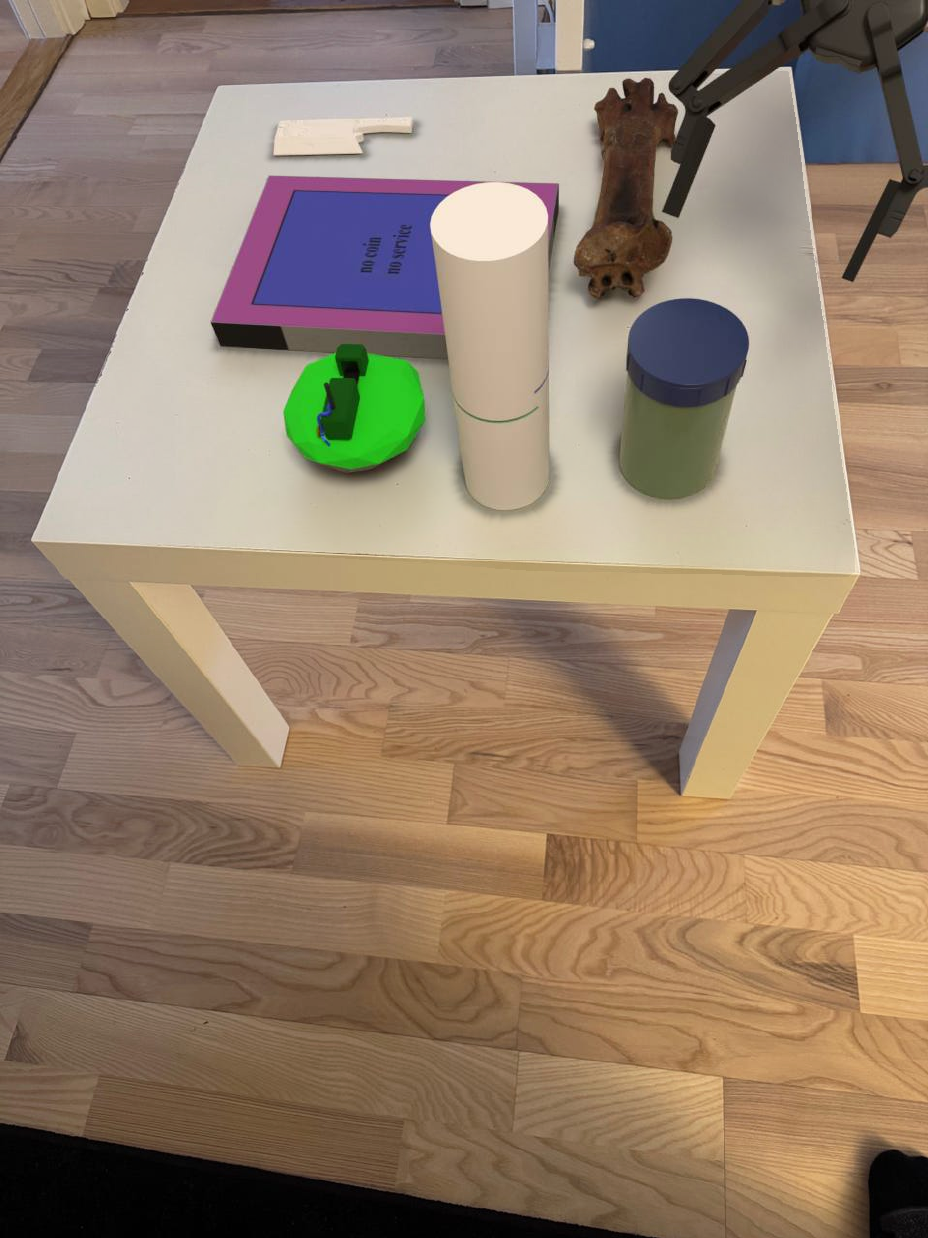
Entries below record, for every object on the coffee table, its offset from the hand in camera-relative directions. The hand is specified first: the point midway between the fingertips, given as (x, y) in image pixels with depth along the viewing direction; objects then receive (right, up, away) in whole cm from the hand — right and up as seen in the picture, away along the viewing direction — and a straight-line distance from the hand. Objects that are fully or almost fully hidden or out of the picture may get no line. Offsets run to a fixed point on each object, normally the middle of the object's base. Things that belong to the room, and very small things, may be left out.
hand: (756, 247), depth 66 cm
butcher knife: (-34, +26, +35) cm, 56 cm away
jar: (-4, -14, +10) cm, 18 cm away
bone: (-5, +14, +26) cm, 30 cm away
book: (-28, +7, +24) cm, 38 cm away
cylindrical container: (-17, -15, +11) cm, 26 cm away
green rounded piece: (-30, -12, +14) cm, 35 cm away
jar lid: (-5, -7, -1) cm, 9 cm away
